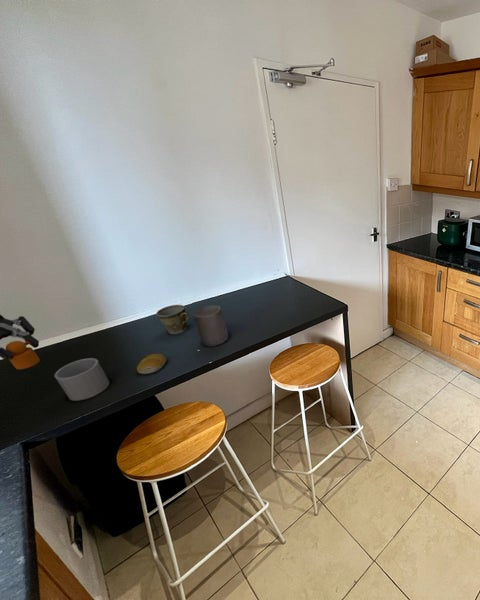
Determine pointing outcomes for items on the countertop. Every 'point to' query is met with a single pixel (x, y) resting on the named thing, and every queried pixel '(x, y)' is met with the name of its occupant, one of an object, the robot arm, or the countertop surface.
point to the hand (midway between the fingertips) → (24, 351)
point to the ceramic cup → (173, 318)
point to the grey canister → (211, 325)
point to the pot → (82, 379)
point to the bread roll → (151, 363)
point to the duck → (22, 354)
